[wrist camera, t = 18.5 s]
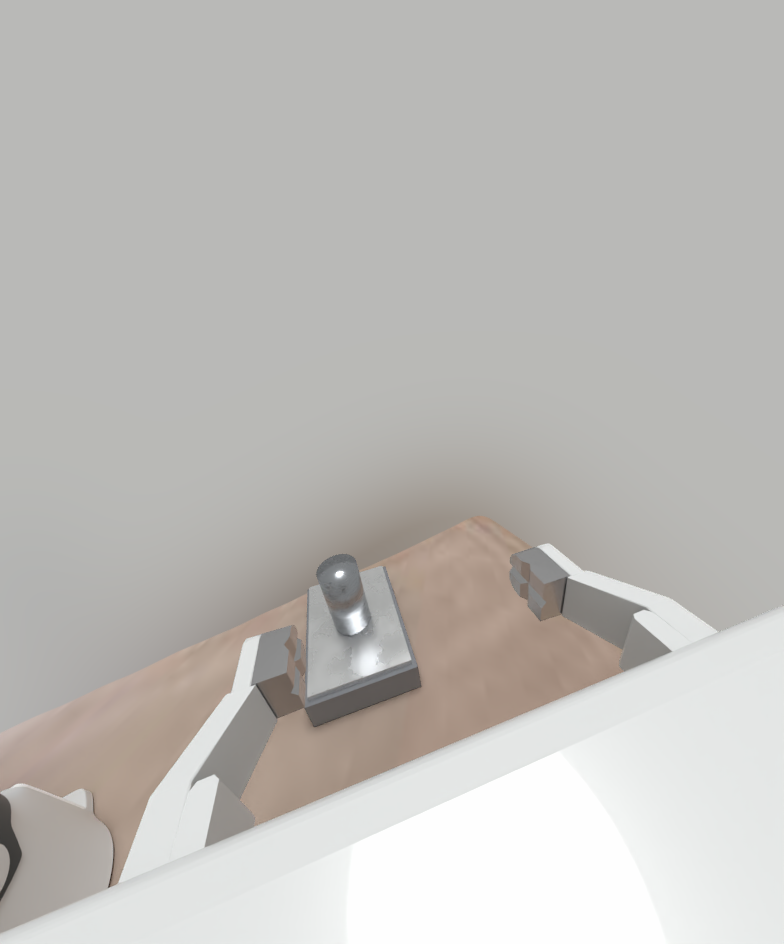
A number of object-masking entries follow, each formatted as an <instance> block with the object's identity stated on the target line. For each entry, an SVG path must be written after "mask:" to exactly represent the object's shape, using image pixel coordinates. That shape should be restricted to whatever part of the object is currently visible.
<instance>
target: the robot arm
mask: <svg viewBox="0 0 784 944" xmlns="http://www.w3.org/2000/svg"><path fill="white" fill-rule="evenodd" d="M510 563H511V565H512V566H513V567H512V569H511V570H510V581H511V584H512V586H513V588H514V590H515V591H516V592H517V594H518V595H519V596H520V597H522V598H524V599H527V602H528V607H529V608H530V609H531V611H532V612H533V613H534V614H535V615H536V617H537V618H538V619H539V620H540V621H543V620H546V619H549V618H552V617H555V616H558V615H561V614H562V616H563V617H565V618H567V619H569V620H571V621H572V622H574V623H576V624H578V625H580V626H581V627H583V628H585V629H587V630H589V631H590V632H592V633H594V634H596V635H597V636H599V637H601V638H603V639H605V640H606V641H608V642H610V643H612V644H614V645H615V646H617V647H619V648H621V649H622V653H621V657H620V660H619V666H620V667H621V669H622V670H623V671H624V672H622V673H620V674H617V675H615V676H612V677H610V678H608V679H605V680H603V681H600V682H598V683H596V684H593V685H591V686H589V687H586V688H584V689H581V690H579V691H577V692H574V693H572V694H569V695H567V696H565V697H562V698H560V699H557V700H555V701H553V702H550V703H548V704H546V705H543V706H541V707H538V708H536V709H534V710H531V711H529V712H526V713H524V714H522V715H519V716H517V717H515V718H512V719H510V720H507V721H505V722H503V723H500V724H498V725H495V726H493V727H491V728H488V729H486V730H484V731H481V732H479V733H476V734H474V735H472V736H469V737H467V738H465V739H462V740H460V741H457V742H455V743H453V744H450V745H448V746H445V747H443V748H441V749H438V750H436V751H434V752H431V753H429V754H426V755H424V756H422V757H419V758H417V759H415V760H412V761H410V762H407V763H405V764H403V765H400V766H398V767H395V768H393V769H391V770H388V771H386V772H384V773H381V774H379V775H376V776H374V777H372V778H369V779H367V780H364V781H362V782H360V783H357V784H355V785H353V786H350V787H348V788H345V789H343V790H341V791H338V792H336V793H334V794H331V795H329V796H326V797H324V798H322V799H319V800H317V801H314V802H312V803H310V804H307V805H305V806H303V807H300V808H298V809H295V810H293V811H291V812H288V813H286V814H283V815H281V816H279V817H276V818H274V819H272V820H269V821H267V822H264V823H262V824H260V825H257V826H255V827H254V822H255V816H254V815H253V814H252V812H251V811H250V810H249V809H248V808H247V807H246V806H245V805H244V804H243V803H242V802H241V801H240V798H241V796H242V794H243V791H244V789H245V787H246V785H247V783H248V781H249V779H250V777H251V775H252V773H253V771H254V769H255V766H256V764H257V762H258V760H259V758H260V756H261V754H262V752H263V750H264V748H265V746H266V743H267V741H268V739H269V737H270V735H271V733H272V731H273V729H274V727H275V725H276V723H277V718H280V717H282V716H285V715H287V714H290V713H292V712H295V711H297V710H300V709H302V708H305V691H306V684H305V682H304V680H303V678H302V676H303V675H304V673H305V671H306V655H305V649H304V645H303V643H302V640H300V639H298V638H297V630H296V628H295V626H294V625H291V626H287V627H284V628H281V629H277V630H274V631H270V632H267V633H263V634H261V635H257V636H254V637H251V638H247V639H246V640H245V642H244V644H243V646H242V650H241V654H240V659H239V663H238V667H237V671H236V675H235V679H234V683H233V687H232V691H231V693H229V694H227V695H225V697H224V698H223V699H222V701H221V702H220V703H219V705H218V706H217V707H216V709H215V710H214V712H213V713H212V714H211V716H210V717H209V718H208V720H207V721H206V722H205V724H204V725H203V726H202V728H201V729H200V730H199V732H198V733H197V734H196V736H195V737H194V739H193V740H192V741H191V743H190V744H189V745H188V747H187V748H186V749H185V751H184V752H183V753H182V755H181V756H180V757H179V759H178V760H177V761H176V763H175V764H174V766H173V767H172V768H171V770H170V771H169V772H168V774H167V775H166V776H165V778H164V779H163V780H162V782H161V783H160V784H159V786H158V787H157V788H156V790H155V791H154V793H153V794H152V795H151V797H150V799H149V801H148V804H147V807H146V809H145V812H144V815H143V818H142V820H141V823H140V826H139V828H138V831H137V834H136V836H135V839H134V842H133V845H132V847H131V850H130V853H129V855H128V858H127V861H126V863H125V866H124V869H123V872H122V874H121V877H120V880H119V882H118V884H117V885H114V886H112V887H109V888H108V885H109V881H110V876H111V871H112V864H113V842H112V837H111V834H110V832H109V830H108V828H107V827H106V826H105V824H103V823H102V822H101V821H100V820H98V819H97V818H96V817H95V815H94V813H93V797H92V793H91V792H90V791H88V790H85V789H78V790H76V791H74V792H72V793H70V794H68V795H66V796H64V797H62V798H61V797H58V796H56V795H54V794H51V793H48V792H46V791H43V790H41V789H38V788H35V787H33V786H30V785H27V784H16V785H14V786H12V787H11V788H10V789H6V790H4V791H1V792H0V944H784V605H782V606H779V607H777V608H775V609H772V610H770V611H768V612H765V613H763V614H760V615H758V616H756V617H753V618H751V619H748V620H746V621H744V622H741V623H739V624H736V625H734V626H732V627H729V628H727V629H725V630H722V631H720V632H718V631H716V630H715V629H713V628H712V627H711V626H709V625H708V624H706V623H705V622H703V621H702V620H701V619H699V618H698V617H696V616H695V615H693V614H692V613H691V612H689V611H688V610H686V609H685V608H684V607H682V606H681V605H679V604H678V603H676V602H675V601H674V600H672V599H670V598H668V597H665V596H662V595H659V594H656V593H653V592H650V591H647V590H644V589H641V588H638V587H635V586H632V585H629V584H626V583H623V582H620V581H617V580H614V579H611V578H608V577H605V576H603V575H600V574H597V573H593V572H591V571H588V570H587V571H582V569H580V568H579V567H578V566H577V565H575V564H574V563H573V562H572V561H571V560H569V559H568V558H567V557H565V556H564V555H563V554H562V553H561V552H559V551H558V550H557V549H556V548H555V547H553V546H552V545H551V544H548V543H546V544H544V545H540V546H537V547H533V548H530V549H527V550H524V551H521V552H518V553H515V554H512V555H511V557H510Z"/></svg>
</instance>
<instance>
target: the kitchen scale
mask: <svg viewBox="0 0 784 944" xmlns="http://www.w3.org/2000/svg"><path fill="white" fill-rule="evenodd" d="M359 574H360V577H361V581H362V584H363V588H364V592H365V595H366V599H367V602H368V606H369V609H370V614H371V616H370V620H369V623H368V624H367V626H366V627H365V628H364V629H363V630H362V631H360V632H359V633H357V634H354V635H343V634H340V633H339V632H338V631H337V630H336V628H335V626H334V623H333V620H332V617H331V614H330V612H329V609H328V606H327V603H326V601H325V598H324V595H323V592H322V590H321V587H320V585H317V586H313V587H310V588H309V590H308V597H307V633H306V671H305V684H306V691H305V710H306V712H307V714H308V716H309V718H310V720H311V722H312V723H313V725H314V727H316V726H318V725H321V724H323V723H326V722H329V721H331V720H334V719H337V718H339V717H342V716H345V715H347V714H350V713H352V712H355V711H358V710H360V709H363V708H366V707H368V706H371V705H374V704H376V703H379V702H381V701H384V700H387V699H389V698H392V697H395V696H397V695H400V694H403V693H405V692H408V691H410V690H413V689H416V688H418V687H421V682H420V676H419V671H418V666H417V663H416V660H415V657H414V654H413V651H412V648H411V645H410V641H409V638H408V635H407V632H406V629H405V626H404V623H403V620H402V617H401V614H400V611H399V608H398V604H397V601H396V598H395V595H394V592H393V589H392V586H391V583H390V580H389V577H388V574H387V571H386V567H382V566H379V567H376V568H373V569H370V570H366V571H363V572H360V573H359Z"/></svg>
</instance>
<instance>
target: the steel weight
mask: <svg viewBox="0 0 784 944" xmlns="http://www.w3.org/2000/svg"><path fill="white" fill-rule="evenodd" d="M316 575H317V578H318V581H319V584H320V587H321V590H322V592H323V595H324V598H325V601H326V603H327V606H328V609H329V612H330V614H331V617H332V620H333V623H334V626H335V628H336V630H337V631H338V632H339V633H340V634H343V635H354V634H357V633H359V632H360V631H362V630H363V629H364V628H365V627H366V626H367V624H368V623H369V620H370V616H371V614H370V609H369V606H368V602H367V599H366V595H365V592H364V588H363V584H362V581H361V577H360V574H359V570H358V567H357V563H356V560H355V558H354V557H352V556H350V555H347V554H339V555H335V556H332V557H330V558H328V559H327V560H325V561H324V562H323V563H322V564H321V565H320V566H319V567H318V569H317V574H316Z"/></svg>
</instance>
